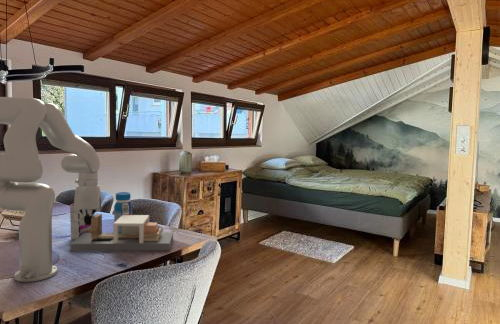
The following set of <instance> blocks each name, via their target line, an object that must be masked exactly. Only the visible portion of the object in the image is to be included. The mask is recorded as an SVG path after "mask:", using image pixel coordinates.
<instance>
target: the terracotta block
mask: <svg viewBox="0 0 500 324" xmlns="http://www.w3.org/2000/svg"><path fill="white" fill-rule="evenodd" d="M157 228H158V222H149V223H145V225H144V234H157Z"/></svg>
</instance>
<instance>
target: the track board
mask: <svg viewBox="0 0 500 324" xmlns="http://www.w3.org/2000/svg"><path fill="white" fill-rule="evenodd" d="M145 223H150V215H149V214H132V215H122V216H121V217H120V218H119V219H118V220H117V221H116V222H115V223H114V222H113V232H102V234H114V238H97V239H91V233H83V234H82V235H81V236H80V237H78V238H77V239H76V240H73V241H72V242H71V243H70V244H69V245H70V249H69V251H70V252H101V251H102V252H103V251H104V252H110V251H111V252H112V251H113V252H117V251H121V252H122V251H123V252H124V251H130V252H131V251H133V252H134V251H142V252H143V251H170V249H171V246H172V243H173V240H174V232H161V236H160V238H159V240H158V241H144V225H145ZM118 226H122V233H118ZM118 234H139V238H118Z"/></svg>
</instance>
